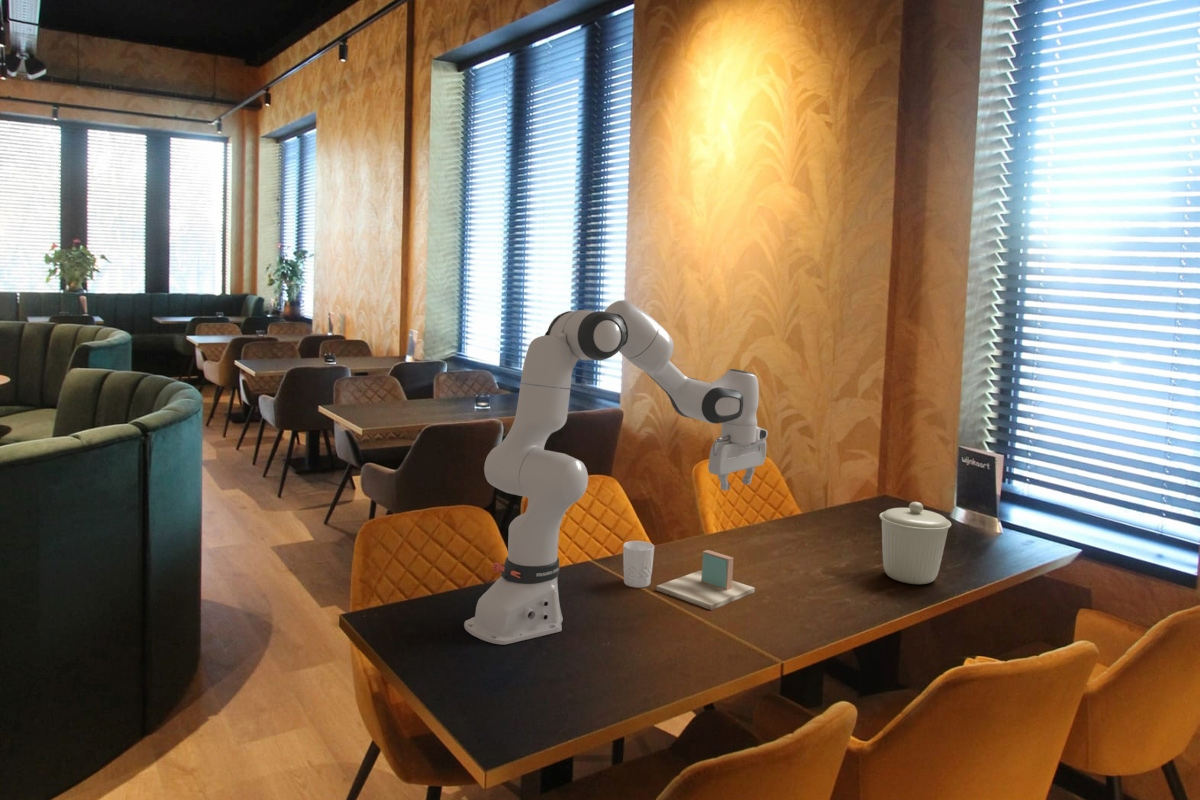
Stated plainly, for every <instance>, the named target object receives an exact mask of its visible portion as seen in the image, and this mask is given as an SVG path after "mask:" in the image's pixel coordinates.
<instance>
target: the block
mask: <svg viewBox="0 0 1200 800" xmlns="http://www.w3.org/2000/svg"><path fill="white" fill-rule="evenodd" d="M734 559H735V558H734V557H732V556H730V555H726V554H722V553H719V552H716V551H712V550H710V549H706V550H703V551H702V561H701V562H702V563H701V570H702V576H701V582H704V583H707V584H710V585H712V586H715V587H718V588H721V589H724V590H729V589H732V581H733V576H734V575H733V573H734Z"/></svg>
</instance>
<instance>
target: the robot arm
mask: <svg viewBox="0 0 1200 800" xmlns="http://www.w3.org/2000/svg"><path fill="white" fill-rule="evenodd" d="M674 346H675V344H674V339H672V337H671V335H670V334H669V333H668V331H667V330H666V329H665V328H664V327H663V326H662V325H661V324H660V323H659V322H658V321H656V319H654V318H653V316H651V315H650V314H648V313H647V312H646V311H645V310H642V309H641V308H640V307H638V306H637V305H635V304H633V303H632V302H631V301H628V300H624V299H623V300H622V299H621V300H617V301H615V302H613V303H611V304H609V305H608V306H607V308H605V309H604V310H603V311H602V310H598V311H594V310H587V309H579V310H573V311H572V310H568V311H565V312H562V313H560V314H558V315H557V316H555V317H554V318H553V320H552V321H551V322H550V324H549V326H548V328H547V331H546V332H545V334H544V335H541V336H538V337H536V338H534V339H532V340H531V342H530V343H529V345H528V348H527V351H526V355H525V358H524V362H523V366H522V372H521V378H520V383H519V393H518V399H517V405H516V406H517V407H516V412H515V417H514V420H513V423H512V425H511V428H510V429H509V431H508V433H507V435H506V437H505V438H504V439H503V440H502V441H501V442H500V443H499V444H498V445H496V446H495V447H493V448H492V449H491V450H490V451H489V453H488V454H487V456H486V459H485V461H484V467H483V471H484V476H485V479H486V481H487V483H489V484H490V485H491V486H492V487H493V488H496V489H498V490H499V491H502V492H504V493H506V494H511V495H515V496H520V497H524V498H527V507H526V509H525V512H523V513H521V514H519V515H518V516H516V517H514V519H513V520H512V521H511V522H510V524H509V526H508V537H507V538H508V539H507V540H508V542H507V545H508V546H507V556H506V559H505V560H504V564H503V563H500V562H498V561H495V562H494V563H493V564H492V570H493V571H494V572H497V573H498V574H500V577H499V578H498V579H496V581H494V583H493V584H492V585H491V586H490V587H489V588H488V589H487V590H486V592H484V593H483V594H482V595H481V597H480V596H479V599H478V601H477V603H476V607H475V614H474V616H473V617H471V618H470V619H467V620H465V621H464V623H463V627H464V629H465V630H466V632H467V633H469V634H470V635H471V636H473V637H476V638H478V639H480V640H481V641H484V642H488V643H491V644H496V645H508V644H514V643H518V642H521V641H525V640H531V639H535V638H540V637H543V636H547V635H551V634H555V633H556V634H557V633H559V632H562V631H563V629H562V627H563V626H562V622H563V619H564V618H563V615H562V611H561V610H562V608H561V606H560V597H559V595H560V594H559V588H558V587H559V586H558V585H559V584H558V576H560V558H559V556H558V554H559V553H558V552H559V539H560V538H559V537H560V530H561V529H560V528H561V524H562V521H563V519H564V516H565V514H566V512H568V510H569V508H570V507H571V506H572V505H573V504H575V503H577V502H578V501H579V500H581V498H582V497H583V496H584V494H585V493H586V490H587V489H588V486H589V485H588V484H589V474H588V469H587V467H586V466H585V463H584V462H583V461H581V460H580V459H577V458H575V457H573V456H570V455H569V454H567V453H562V452H557V451H552V450H547V449H545V445H546V443H547V440H548V439H549V437H550V436H551V435H552V434H553V433H555V432H557V431H559V430H561V429H562V428H563V427H564V425H566V423H567V421H568V420H567V419H568V415H569V414H568V413H569V412H568V411H569V404H570V398H571V397H570V395H571V387H572V374H573V371H574V369H575V366H576V364H577V362H578V361H579V360H581V361H605V360H608V359H610V358H612V357H613V356H615V355H616V354H617V353H620V354H621V355H622V356H624V358H625V359H627V360H628V362H630V363H631V364H632V365H634V366H635V367H636V368H638V369H640V370H641V371H643V372H644V373H645V374H647V375H648V376H649V377H650V378H651V380H653V381H654V382H655V383H656V385H658V386H659V387H660V388H661V389H662V390H663V392H664V393H665V394H666V396H667V397H668V399H669V401H670V403H671V405H672V408H673V410H674V411H675V412H676V413H677V414H679V416H682V417H684V418H690V419H695V420H699V421H701V422H705V423H708V424H712V425H713V424H714V425H717V424H721V434H720V436H719V437H716V439H715V440H714V442H713V443H712V445H711V447H710V451H709V458H708V468H707V470H708V472H709V473H710V474H711V475H714V476H715V475H716V476H717V479H718V480H719V482H720V490H721V491H723V492H724V491H728V490H730V487H731V486H730V485H731V483H729V482H728V477H729V474H730V473H731V474H732V473H735V472H739V471H744V470H745V474H744V475H743V476H742V481H741V482H742V484H743V485H750V484H751V483H752V478H753V476H754V473H755V470H756V467H758V466H763V465H764V464H765V461H766V458H767V440H766V439H767V438H768V437H769V436H768V434H769V431H768V430H767V429H765V428H761V427H760V426H758V417H757V412H758V411H757V410H758V408H759V403H760V402H759V400H760V399H759V398H760V388H759V380H758V377H757V375H756V374H755V373H753V372H750V371H746V370H742V369H741V370H740V369H736V368H731V369H728V370H727V371H726V373H725V374H724V375H722V376H721V377H720V378H718V379H717V380H715V381H712V382H707V381H702V380H699V379H697V378H693V377H689V376H686V375H684V373H683V372H682V371H680V369H679V368H678V367H677V366H676V365H675V364H674V363H673V362H672V361H671V358H672V356H673V354H674Z"/></svg>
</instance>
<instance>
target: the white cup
mask: <svg viewBox="0 0 1200 800" xmlns="http://www.w3.org/2000/svg"><path fill="white" fill-rule="evenodd" d="M622 547H623V550H622V551H623V557H622V559H623V560H622V561H623V563H622V564H623V583H624V584H625V586H628V587H630V588H639V589H640V588H642V589H643V588H646V587H650V584H651V580H652V574H653V565H654V564H653V563H654V554H655V545H654V544H653V543H651V542H647V541H644V540H642V541H641V540H630V541H626V542H624V543H623V546H622Z"/></svg>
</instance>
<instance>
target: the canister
mask: <svg viewBox="0 0 1200 800" xmlns="http://www.w3.org/2000/svg"><path fill="white" fill-rule="evenodd" d="M878 517H879V519H880V521H881V540H882V541H881V542H882V543H881V544H882V549H881V550H882V565H883V570H884V572H885V574H886V575H887V576H888V577H889V578H891V579H892V580H894V581H898V582H900V583H905V584H908V585H909V584H911V585H926V584H930V583H932V582H933V581H935V580H936V578H937V576H938V574H939V572H940V567H941V562H942V560H943V555H944V550H945V546H946V541H947V537H948V531H949V529H950V528H951V527H952V522H951V521H950V520H949V519H947V518H946V517H945V516H943V515H942V514H940V513H937V512H935V511H931V510H926V509H924V505H923V504H922V503H921V502H918V501H912V502H910V503H909V504H908V507H894V508H893V507H892V508H889V509H886V510H885V511H883V512H881V513H879V516H878Z"/></svg>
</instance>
